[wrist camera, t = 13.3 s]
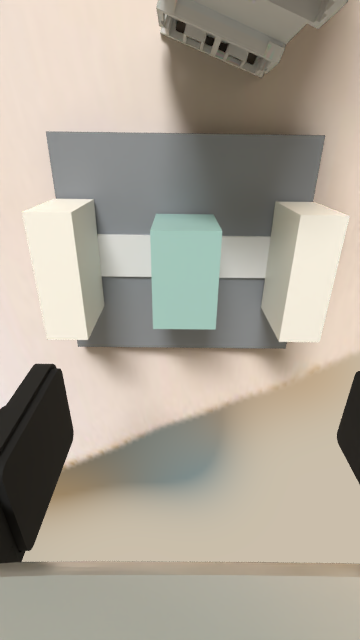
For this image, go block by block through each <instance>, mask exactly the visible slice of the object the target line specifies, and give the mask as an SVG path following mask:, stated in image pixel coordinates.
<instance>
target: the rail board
mask: <svg viewBox="0 0 360 640" xmlns="http://www.w3.org/2000/svg"><path fill="white" fill-rule="evenodd" d="M46 136H47V143H48V149H49V156H50V163H51V169H52V176H53V183H54V189H55V196H56V199H52V200H50V201H47V202H45V203H42V204H40V205H37V206H35V207H32V208H30V209H27V210H25V211H22V217H23V222H24V227H25V232H26V237H27V242H28V247H29V252H30V257H31V262H32V267H33V272H34V277H35V282H36V287H37V292H38V297H39V302H40V307H41V312H42V317H43V323H44V328H45V333H46V338H47V340H77V343H78V347H180V348H286V344H287V342H320V339H321V334H322V330H323V326H324V322H325V318H326V313H327V309H328V305H329V301H330V297H331V292H332V288H333V284H334V280H335V276H336V272H337V267H338V263H339V259H340V255H341V251H342V246H343V242H344V238H345V234H346V230H347V225H348V221H349V217H350V216H349V215H346V214H344V213H341V212H339V211H336V210H334V209H331V208H328V207H326V206H323V205H321V204H318V203H316V202H313V198H314V193H315V187H316V182H317V177H318V171H319V166H320V160H321V155H322V150H323V144H324V139H325V135H257V134H187V133H117V132H47V131H46ZM156 214H214V216H215V218H216V220H217V222H218V224H219V226H220V228H221V230H222V243H221V258H220V273H219V287H218V302H217V316H216V329H153V309H152V276H151V242H150V229H151V227H152V224H153V221H154V218H155V215H156Z"/></svg>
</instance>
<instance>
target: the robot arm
mask: <svg viewBox="0 0 360 640" xmlns="http://www.w3.org/2000/svg"><path fill="white" fill-rule="evenodd" d="M337 440H338V444H339V446H340V448H341V450H342V452H343V453H344V455H345V457H346V459H347V461H348V463H349V465H350V467H351V469H352V471H353V472H354V474H355V476H356V478H357V480H358V482H359V484H360V371H358V372H356V374H355V377H354V380H353V383H352V387H351V390H350V393H349V396H348V399H347V403H346V406H345V409H344V413H343V416H342V419H341V422H340V425H339V429H338V432H337ZM72 441H73V426H72V421H71V416H70V411H69V405H68V400H67V395H66V390H65V385H64V380H63V374H62V371H61V369H57V368H56V366H55V365H54V364H35V365H34V366H33V367H32V368H31V370H30V371H29V373H28V374H27V376H26V377H25V379H24V380H23V381H22V383H21V384H20V386H19V387H18V389H17V390H16V392H15V393H14V395H13V396H12V398H11V399H10V401H9V402H8V403H7V405H6V406H4V407H2V408H1V409H0V640H360V564H346V563H274V562H273V563H271V562H155V561H153V562H152V561H151V562H150V561H147V562H146V561H141V562H139V561H65V562H64V561H63V562H21V561H22V559H23V556H24V553H25V551H29V550H31V549H32V547H33V545H34V543H35V540H36V538H37V535H38V532H39V530H40V527H41V524H42V521H43V519H44V516H45V513H46V511H47V508H48V505H49V503H50V500H51V497H52V494H53V492H54V489H55V487H56V484H57V481H58V478H59V476H60V473H61V471H62V468H63V465H64V463H65V460H66V457H67V455H68V452H69V449H70V447H71V444H72Z"/></svg>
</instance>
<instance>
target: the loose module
mask: <svg viewBox="0 0 360 640" xmlns="http://www.w3.org/2000/svg"><path fill="white" fill-rule="evenodd" d="M150 242H151V276H152V309H153V329H216V316H217V302H218V287H219V273H220V258H221V243H222V230H221V228H220V226H219V224H218V222H217V220H216V218H215V216H214V214H156V215H155V218H154V221H153V224H152V227H151V229H150Z"/></svg>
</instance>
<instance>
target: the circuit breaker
mask: <svg viewBox="0 0 360 640" xmlns="http://www.w3.org/2000/svg"><path fill="white" fill-rule="evenodd" d="M347 2H348V0H158V3H157V14H158V21H159V26H160V27H161V31H160V33H161V34H163V35H165V36H167V37H169V38H172V39H174V40H176V41H178V42H181V43H183V44H185V45H187V46H190V47H192V48H194V49H197V50H199V51H201V52H203V53H206V54H208V55H210V56H212V57H215V58H217V59H219V60H222V61H224V62H226V63H228V64H231V65H233V66H235V67H237V68H240V69H242V70H244V71H246V72H249V73H251V74H253V75H256V76H258V77H260V78H262V77H263V75H264V73H266V74H267V73H268V72H269V71H270V70H271V69H272V68H274V67H275V66H276V65H277V64H278V63H279V61H280V59H281V57H282V54H283V52H284V50H285V46H286V44H287V43H288V42H289V41H290V40H291V39H292V38H293V37H294V36H295V35H296V34H297V33H298V32H299V31H300V30H301V29H302V28H303V27H304V26H305V25H306V24H309V25H311V26H313V27H315V28H317V29H319V28H320V27H321V26H322V25H323V24H324V23H325V22H327V21H328V20H329V19H330V18H331V17H332V16H334V15H335V14H336V13H337V12H338V11H339V10H340V9H341V8H342V7H343V6H344V5H345V4H346V3H347ZM178 20H180V21H182V22H184V23H186V27H185V31H184V34H183V33H180V32H178V31H176V25H177V21H178ZM187 36H188V37H190V38H192V39H195V40H197V41H199V42H201V43H199V42H197V41H195V40H192V39H190V38H188V37H187ZM207 36H209V37H211V38H213V39H215V40H214V44H213V47H212V46H210V45H208V44H205V40H206V37H207ZM221 42H222V43H225V44H227V48H226V52H223V51H221V50H219V49H218V48H219V45H220V43H221ZM249 52H251V53H253V54H255V55H257V56H256V59H255V61H254V64H253V65H252V64H250V63H248V62H246V60H247V57H248V55H249ZM228 55H231V56H233V57H235V58H237V59H240V60H242V61H240V60H237V59H235V58H233V57H231V56H228Z"/></svg>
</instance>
